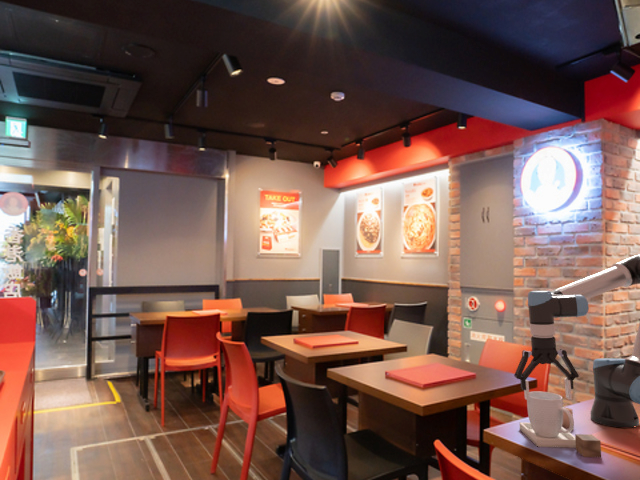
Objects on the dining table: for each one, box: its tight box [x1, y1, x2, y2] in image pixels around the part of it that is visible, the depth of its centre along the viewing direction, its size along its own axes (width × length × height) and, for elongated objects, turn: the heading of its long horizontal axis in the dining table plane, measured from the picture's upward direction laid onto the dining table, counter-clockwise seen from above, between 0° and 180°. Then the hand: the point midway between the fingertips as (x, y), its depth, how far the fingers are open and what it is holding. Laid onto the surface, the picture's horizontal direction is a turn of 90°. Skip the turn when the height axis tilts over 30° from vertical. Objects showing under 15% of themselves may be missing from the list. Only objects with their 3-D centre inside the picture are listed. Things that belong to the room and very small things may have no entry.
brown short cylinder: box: [562, 406, 574, 430], centre depth 162 cm, size 5×5×6 cm
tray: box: [519, 422, 576, 449], centre depth 150 cm, size 13×16×2 cm
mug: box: [526, 390, 575, 438], centre depth 150 cm, size 15×11×13 cm
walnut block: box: [574, 433, 602, 458], centre depth 137 cm, size 5×5×5 cm
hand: (548, 399), depth 151 cm, fingers open, 13 cm apart
